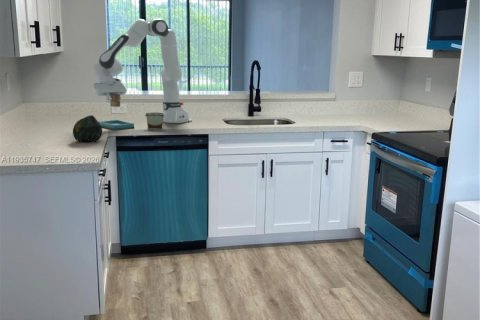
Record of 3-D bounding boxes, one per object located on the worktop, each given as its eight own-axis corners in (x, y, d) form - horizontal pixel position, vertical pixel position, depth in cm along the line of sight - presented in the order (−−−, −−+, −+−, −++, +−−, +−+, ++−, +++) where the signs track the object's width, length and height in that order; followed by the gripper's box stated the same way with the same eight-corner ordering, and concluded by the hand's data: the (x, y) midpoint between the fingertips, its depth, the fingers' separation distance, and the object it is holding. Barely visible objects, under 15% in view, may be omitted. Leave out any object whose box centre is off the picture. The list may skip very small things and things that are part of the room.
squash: (66, 129, 252) (74, 111, 243) (92, 128, 263) (100, 110, 254) (75, 149, 247) (84, 131, 238) (101, 147, 257) (110, 130, 248)
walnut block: (116, 105, 300) (116, 93, 299) (120, 106, 297) (119, 94, 296) (110, 106, 297) (110, 93, 295) (114, 106, 294) (113, 94, 292)
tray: (117, 124, 312) (117, 119, 311) (134, 128, 298) (133, 123, 298) (98, 126, 302) (98, 121, 302) (114, 130, 289) (114, 125, 288)
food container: (166, 127, 302) (166, 112, 300) (164, 129, 296) (164, 113, 294) (148, 127, 303) (148, 112, 301) (145, 128, 298) (145, 113, 295)
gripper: (94, 79, 291) (102, 96, 287) (122, 79, 305) (131, 95, 301) (91, 86, 295) (99, 103, 291) (119, 85, 309) (127, 101, 305)
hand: (115, 99), depth 296 cm, fingers closed on walnut block, 4 cm apart
